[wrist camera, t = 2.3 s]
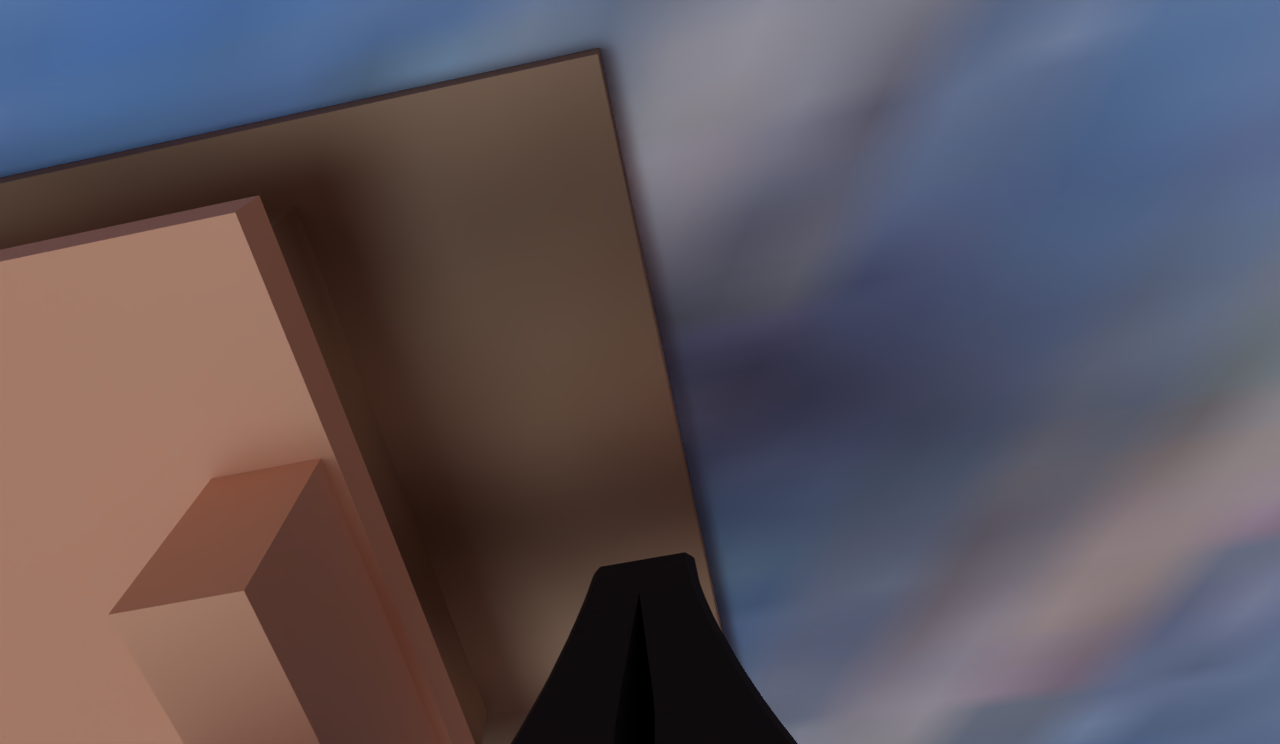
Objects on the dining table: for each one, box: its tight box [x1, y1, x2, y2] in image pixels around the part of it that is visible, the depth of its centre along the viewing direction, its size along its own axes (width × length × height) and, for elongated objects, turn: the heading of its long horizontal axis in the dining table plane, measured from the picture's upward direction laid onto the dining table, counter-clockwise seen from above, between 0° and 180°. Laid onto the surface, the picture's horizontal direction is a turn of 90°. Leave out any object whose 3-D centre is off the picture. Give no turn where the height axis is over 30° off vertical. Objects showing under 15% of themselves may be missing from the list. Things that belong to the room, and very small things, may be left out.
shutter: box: [0, 195, 475, 744], centre depth 13 cm, size 13×11×4 cm
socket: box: [0, 48, 723, 744], centre depth 17 cm, size 14×20×3 cm
